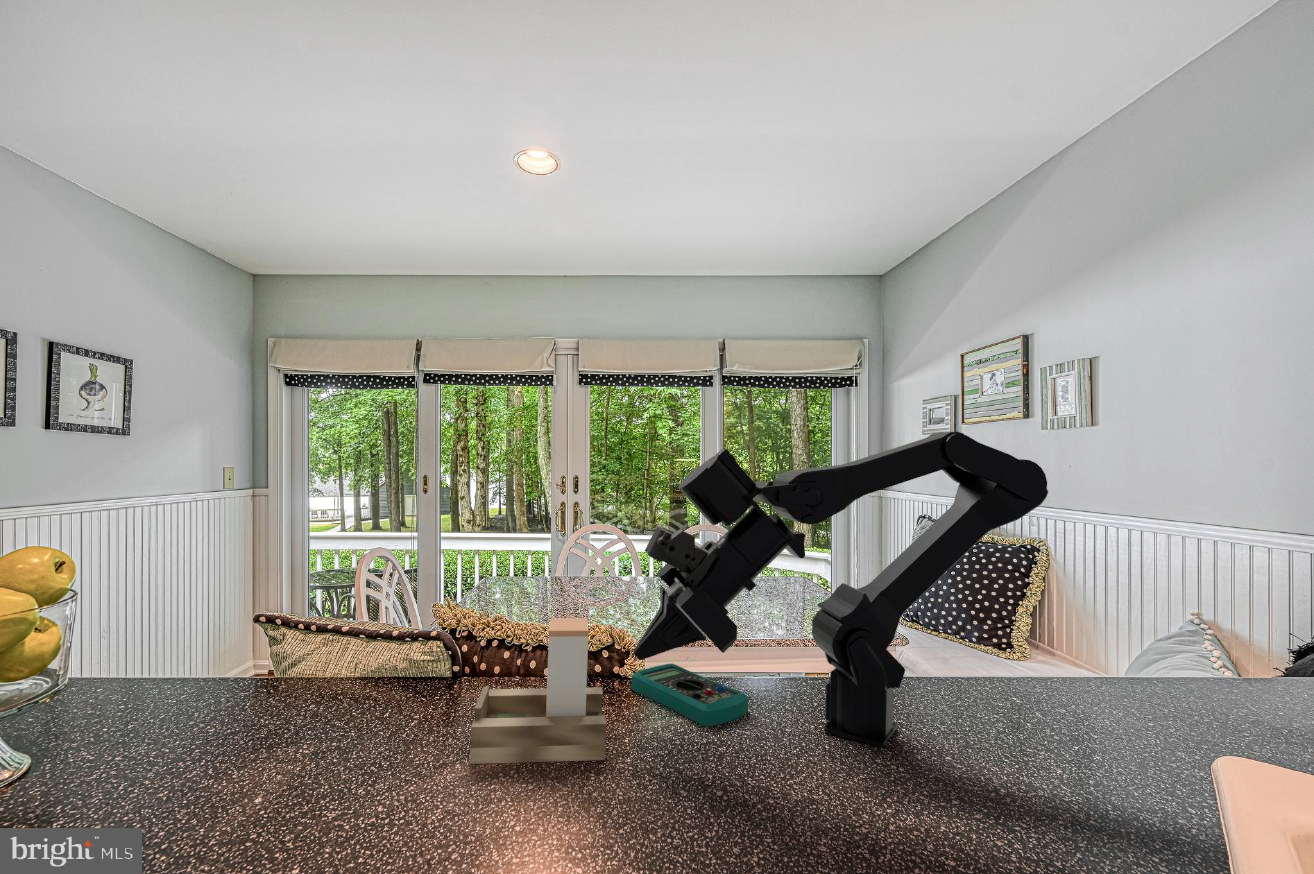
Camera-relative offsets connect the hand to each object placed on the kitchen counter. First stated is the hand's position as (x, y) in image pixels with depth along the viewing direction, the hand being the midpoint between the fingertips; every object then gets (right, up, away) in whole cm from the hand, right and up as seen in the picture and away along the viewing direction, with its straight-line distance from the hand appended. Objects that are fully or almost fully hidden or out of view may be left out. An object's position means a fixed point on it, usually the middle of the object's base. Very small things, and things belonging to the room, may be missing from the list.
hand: (636, 656), depth 68 cm
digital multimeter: (+6, -10, +10) cm, 15 cm away
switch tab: (-7, -6, -1) cm, 10 cm away
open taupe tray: (-10, -8, -2) cm, 13 cm away
